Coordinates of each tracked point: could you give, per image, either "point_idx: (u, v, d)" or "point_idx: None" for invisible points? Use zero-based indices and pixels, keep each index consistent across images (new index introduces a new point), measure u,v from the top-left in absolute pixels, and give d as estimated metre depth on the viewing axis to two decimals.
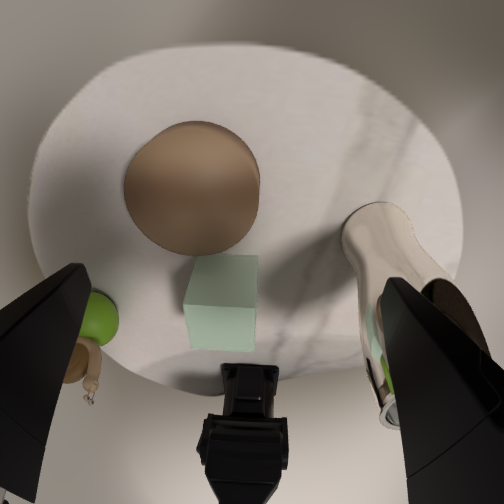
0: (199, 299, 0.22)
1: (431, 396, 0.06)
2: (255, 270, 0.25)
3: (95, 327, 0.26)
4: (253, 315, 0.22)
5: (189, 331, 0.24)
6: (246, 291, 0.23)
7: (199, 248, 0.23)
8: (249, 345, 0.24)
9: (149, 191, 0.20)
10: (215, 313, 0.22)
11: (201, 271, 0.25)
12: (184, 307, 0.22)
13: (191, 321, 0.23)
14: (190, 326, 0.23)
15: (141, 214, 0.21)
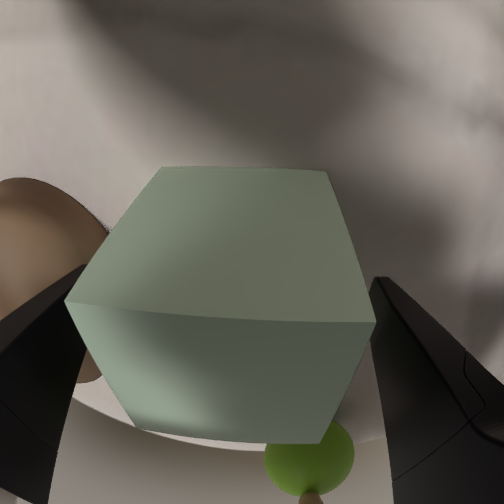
0: None
1: (415, 398, 0.06)
2: None
3: (292, 478, 0.14)
4: (101, 310, 0.05)
5: (240, 440, 0.07)
6: None
7: None
8: (317, 337, 0.05)
9: None
10: (141, 395, 0.06)
11: None
12: (146, 428, 0.08)
13: (194, 432, 0.07)
14: (217, 436, 0.07)
15: None
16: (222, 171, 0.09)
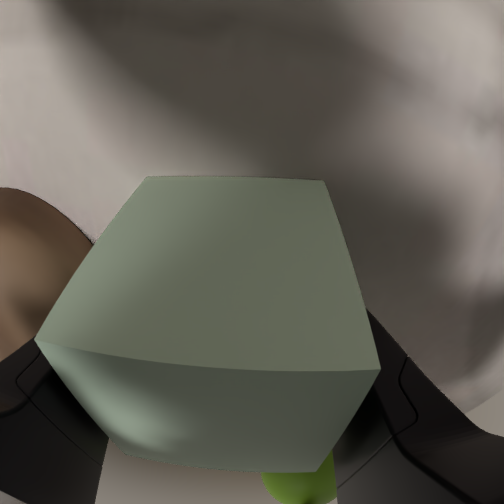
0: None
1: None
2: None
3: (289, 491, 0.13)
4: (72, 352, 0.04)
5: (232, 469, 0.07)
6: None
7: None
8: (313, 385, 0.04)
9: None
10: (125, 428, 0.06)
11: None
12: (134, 455, 0.07)
13: (184, 461, 0.07)
14: (208, 465, 0.07)
15: None
16: (211, 182, 0.08)
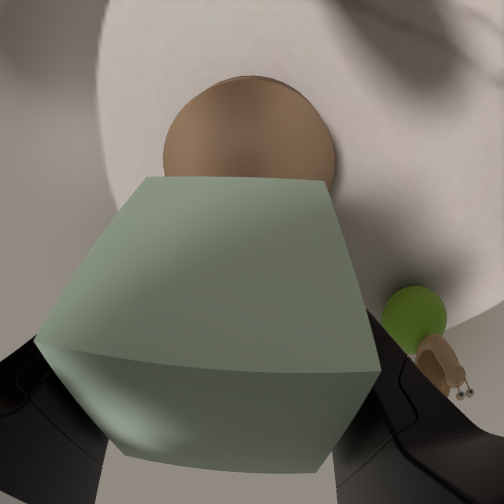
0: None
1: None
2: None
3: (414, 324, 0.20)
4: (72, 353, 0.04)
5: (232, 470, 0.07)
6: None
7: (322, 162, 0.16)
8: (313, 387, 0.04)
9: None
10: (125, 429, 0.06)
11: None
12: (134, 456, 0.07)
13: (184, 462, 0.07)
14: (208, 466, 0.07)
15: None
16: (211, 183, 0.08)
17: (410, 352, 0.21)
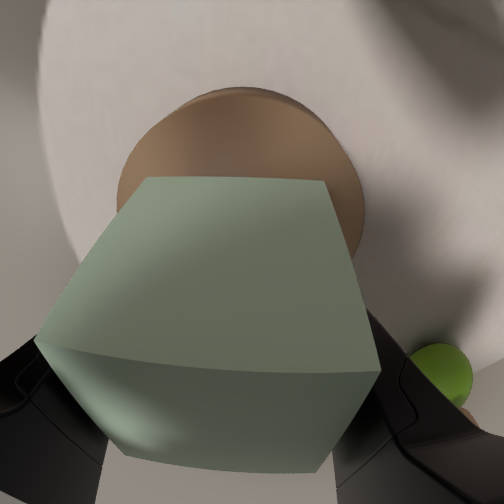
0: None
1: None
2: None
3: None
4: (72, 353, 0.04)
5: (232, 470, 0.07)
6: None
7: (346, 220, 0.11)
8: (314, 387, 0.04)
9: None
10: (125, 429, 0.06)
11: None
12: (134, 456, 0.07)
13: (184, 462, 0.07)
14: (208, 466, 0.07)
15: None
16: (211, 183, 0.08)
17: None
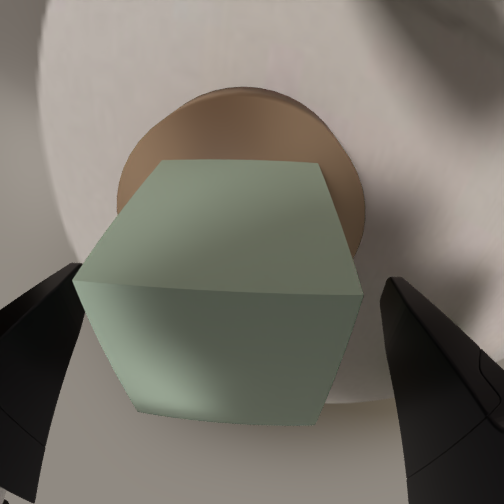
0: None
1: (431, 396, 0.06)
2: None
3: None
4: (107, 288, 0.05)
5: (238, 422, 0.08)
6: None
7: (347, 221, 0.11)
8: (309, 310, 0.05)
9: None
10: (142, 374, 0.07)
11: None
12: (147, 412, 0.08)
13: (193, 414, 0.08)
14: (215, 418, 0.08)
15: None
16: (219, 164, 0.10)
17: None
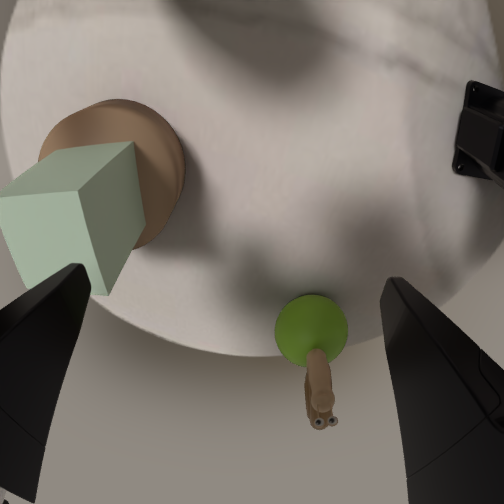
0: None
1: (431, 396, 0.06)
2: None
3: (299, 337, 0.21)
4: (1, 199, 0.10)
5: None
6: None
7: (160, 176, 0.16)
8: (61, 201, 0.10)
9: None
10: (20, 252, 0.12)
11: None
12: (30, 287, 0.13)
13: None
14: None
15: None
16: (80, 148, 0.15)
17: (303, 365, 0.22)
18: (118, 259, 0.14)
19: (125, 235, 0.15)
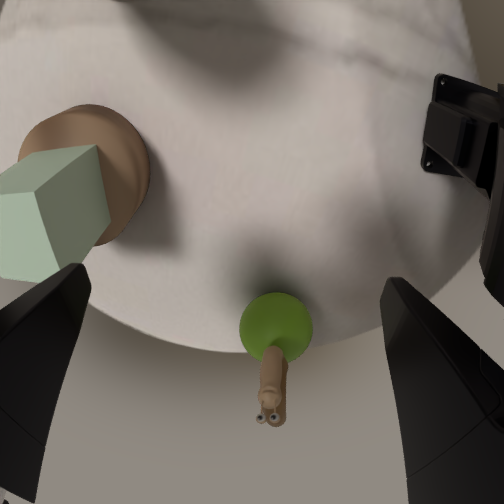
0: None
1: (431, 396, 0.06)
2: None
3: (259, 334, 0.21)
4: None
5: (34, 280, 0.14)
6: None
7: (121, 176, 0.17)
8: (22, 200, 0.11)
9: None
10: None
11: None
12: (4, 276, 0.14)
13: (17, 274, 0.14)
14: (26, 277, 0.14)
15: None
16: (51, 151, 0.15)
17: None
18: (78, 253, 0.15)
19: (86, 231, 0.16)
